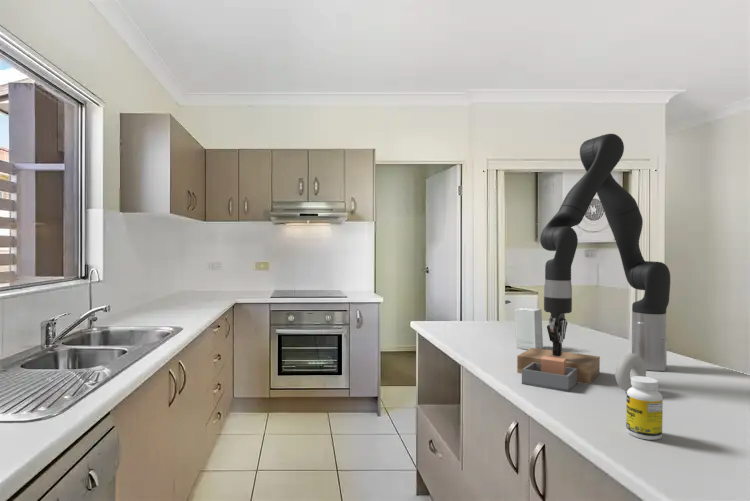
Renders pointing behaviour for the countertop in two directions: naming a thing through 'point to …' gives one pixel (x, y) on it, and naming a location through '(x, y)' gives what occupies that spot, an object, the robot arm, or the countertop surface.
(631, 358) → the donut
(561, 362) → the tile
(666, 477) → the countertop surface
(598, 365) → the chopping block
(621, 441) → the countertop surface
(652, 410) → the pill bottle
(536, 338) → the skincare box
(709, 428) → the countertop surface
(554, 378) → the bin
